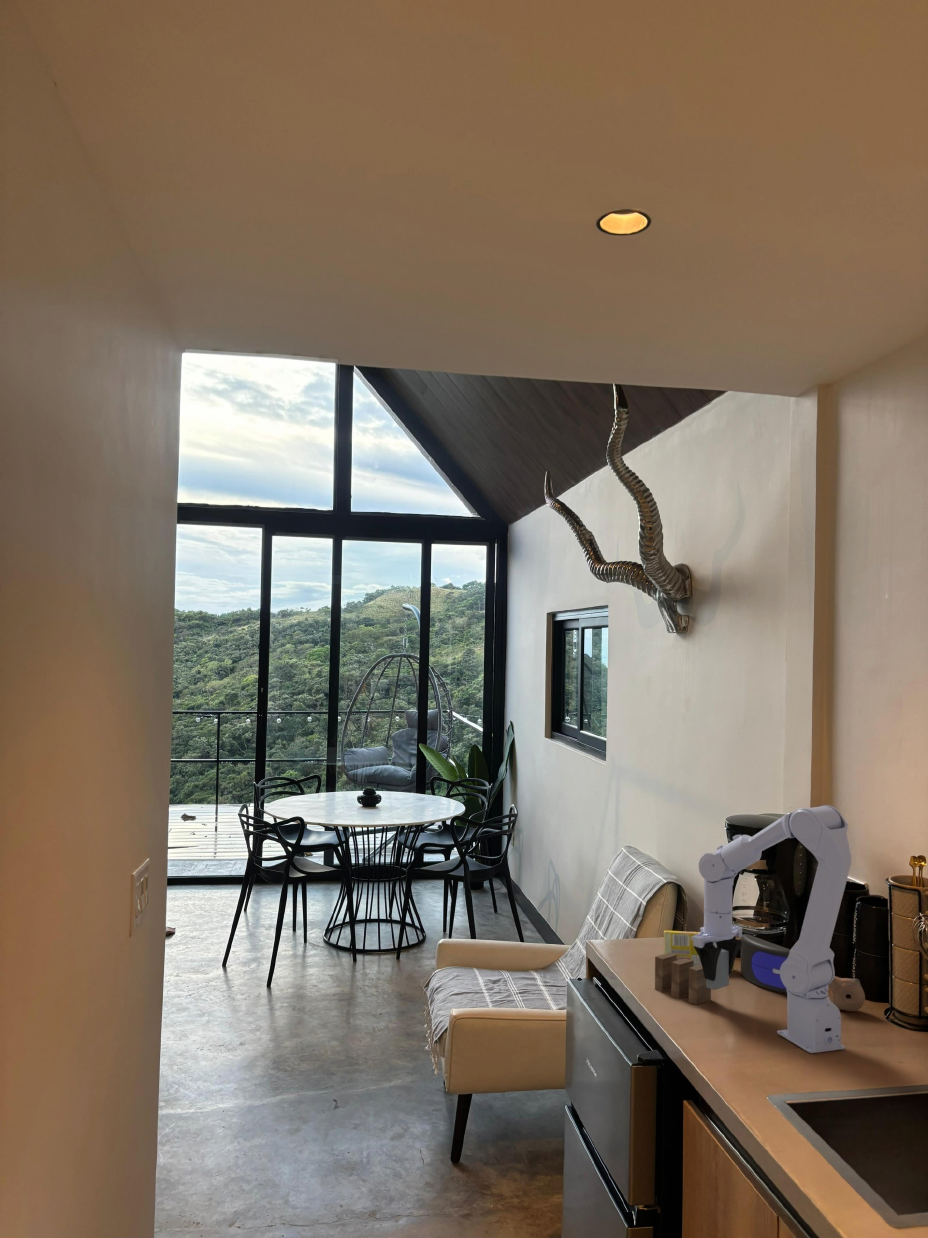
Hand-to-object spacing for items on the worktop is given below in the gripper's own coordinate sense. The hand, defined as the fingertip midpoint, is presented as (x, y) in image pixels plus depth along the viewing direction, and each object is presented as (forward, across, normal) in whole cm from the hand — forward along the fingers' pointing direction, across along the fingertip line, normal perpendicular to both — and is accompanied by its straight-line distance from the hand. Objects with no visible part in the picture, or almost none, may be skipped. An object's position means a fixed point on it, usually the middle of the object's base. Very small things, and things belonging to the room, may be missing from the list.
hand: (717, 977), depth 177 cm
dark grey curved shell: (+6, -22, -2) cm, 23 cm away
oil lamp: (+6, -21, +16) cm, 27 cm away
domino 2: (+6, 0, -9) cm, 11 cm away
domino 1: (+6, 0, -14) cm, 15 cm away
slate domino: (+2, 0, 0) cm, 2 cm away
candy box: (+7, -18, -18) cm, 26 cm away
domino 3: (+6, 0, -4) cm, 8 cm away
